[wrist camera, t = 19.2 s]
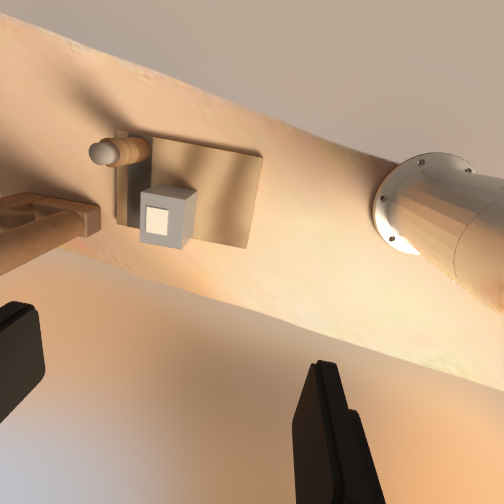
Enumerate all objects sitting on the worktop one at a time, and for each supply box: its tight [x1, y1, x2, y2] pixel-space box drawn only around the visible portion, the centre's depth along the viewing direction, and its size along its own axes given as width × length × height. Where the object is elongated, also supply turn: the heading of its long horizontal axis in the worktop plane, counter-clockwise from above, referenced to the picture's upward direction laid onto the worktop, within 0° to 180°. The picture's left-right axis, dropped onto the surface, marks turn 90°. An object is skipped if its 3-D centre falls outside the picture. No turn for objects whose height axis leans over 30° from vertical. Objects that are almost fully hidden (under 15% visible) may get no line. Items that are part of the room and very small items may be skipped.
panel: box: [116, 130, 263, 249], centre depth 38 cm, size 18×12×1 cm, turn 80°
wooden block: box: [0, 192, 101, 276], centre depth 32 cm, size 4×11×18 cm, turn 81°
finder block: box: [140, 184, 198, 250], centre depth 36 cm, size 5×6×6 cm
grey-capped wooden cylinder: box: [89, 137, 151, 167], centre depth 32 cm, size 3×3×9 cm
